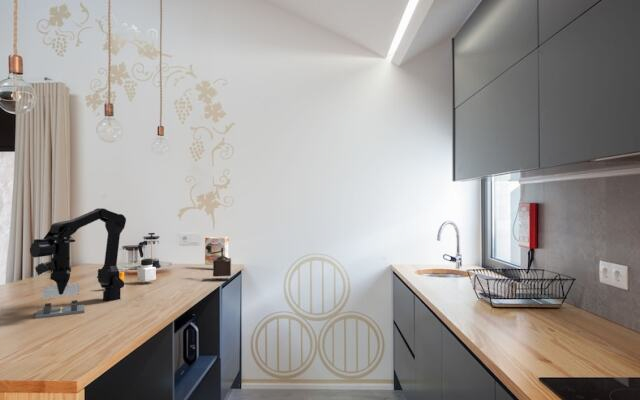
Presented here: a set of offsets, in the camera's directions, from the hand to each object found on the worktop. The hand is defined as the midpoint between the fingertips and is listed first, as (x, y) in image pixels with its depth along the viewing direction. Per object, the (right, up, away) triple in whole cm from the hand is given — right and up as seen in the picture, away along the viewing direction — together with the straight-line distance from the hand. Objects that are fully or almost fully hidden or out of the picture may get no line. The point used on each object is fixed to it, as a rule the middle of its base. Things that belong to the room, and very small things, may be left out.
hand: (61, 293), depth 158 cm
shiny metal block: (0, -1, 0) cm, 1 cm away
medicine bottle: (+5, -8, +66) cm, 67 cm away
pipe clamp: (-6, -8, +50) cm, 51 cm away
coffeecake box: (+30, -9, +123) cm, 127 cm away
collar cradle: (0, -8, 0) cm, 8 cm away
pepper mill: (+41, -9, +83) cm, 93 cm away
